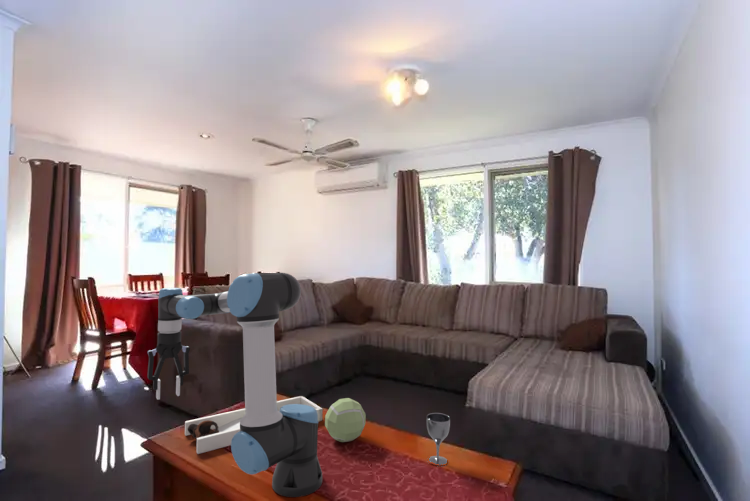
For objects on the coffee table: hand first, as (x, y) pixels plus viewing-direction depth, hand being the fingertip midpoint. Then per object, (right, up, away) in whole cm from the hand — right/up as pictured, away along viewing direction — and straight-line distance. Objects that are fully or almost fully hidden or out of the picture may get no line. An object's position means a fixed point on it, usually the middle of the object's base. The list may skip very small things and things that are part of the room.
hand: (168, 396), depth 143 cm
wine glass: (+95, -21, -5) cm, 98 cm away
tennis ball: (+62, -20, +10) cm, 66 cm away
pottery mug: (+9, -19, +7) cm, 23 cm away
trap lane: (+26, -22, +20) cm, 39 cm away
